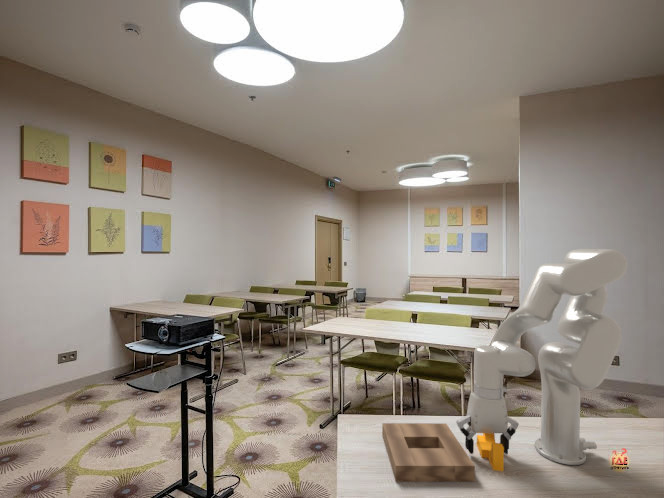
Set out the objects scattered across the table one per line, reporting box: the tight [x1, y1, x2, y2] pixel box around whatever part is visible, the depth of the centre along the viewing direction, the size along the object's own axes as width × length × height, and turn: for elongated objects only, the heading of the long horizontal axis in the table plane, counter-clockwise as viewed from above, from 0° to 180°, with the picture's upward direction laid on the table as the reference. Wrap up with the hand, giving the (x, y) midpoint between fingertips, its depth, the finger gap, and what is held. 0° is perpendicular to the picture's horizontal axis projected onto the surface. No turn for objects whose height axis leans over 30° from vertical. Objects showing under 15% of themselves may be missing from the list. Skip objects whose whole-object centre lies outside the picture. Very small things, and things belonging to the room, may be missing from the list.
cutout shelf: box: [381, 422, 476, 483], centre depth 103 cm, size 20×22×4 cm
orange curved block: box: [476, 433, 505, 472], centre depth 103 cm, size 12×4×6 cm, turn 169°
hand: (486, 451), depth 103 cm, fingers open, 9 cm apart
